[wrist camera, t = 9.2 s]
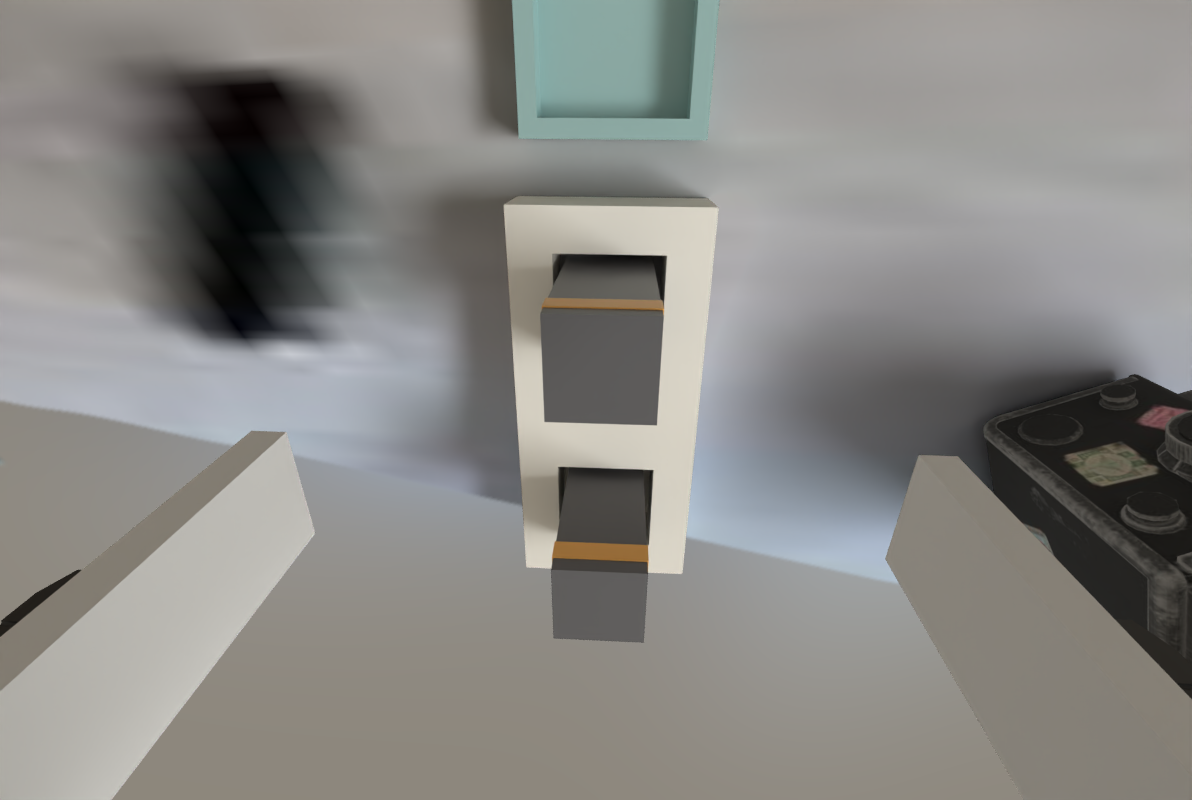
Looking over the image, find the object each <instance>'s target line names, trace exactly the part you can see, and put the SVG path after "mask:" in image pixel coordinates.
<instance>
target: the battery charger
mask: <svg viewBox="0 0 1192 800" xmlns="http://www.w3.org/2000/svg"><path fill="white" fill-rule="evenodd" d="M718 209H719V207H717V206H716V205H715V204H714V203H713V202H712V201H710V200H709V199H708V198H640V197H564V196H517V197H515V198H514V199H512V200H510V201H509V202H507V203H505V204H504V219H505V235H506V251H507V267H508V283H509V299H510V314H511V330H512V346H513V362H514V378H515V394H516V409H517V425H518V441H519V457H520V473H521V489H522V505H523V520H524V536H525V551H526V567H531V568H551V580H552V581H551V582H552V607H553V635H554V638H558V639H579V640H600V641H621V642H641V643H643V642H644V629H645V612H646V596H647V582H648V572H649V573H674V574H682V571H683V561H684V551H685V541H686V531H687V521H688V511H689V501H690V491H691V481H692V471H693V461H694V451H695V440H696V430H697V420H698V410H699V400H700V390H701V380H702V370H703V360H704V350H705V340H706V330H707V320H708V310H709V300H710V290H711V279H712V269H713V259H714V249H715V239H716V229H717V219H718ZM568 254H609V255H652V257H653V263H654V268H655V273H656V278H657V284H658V289H659V294H660V299H661V300H663V305H664V321H663V337H662V353H661V369H660V385H659V401H658V416H657V426H656V425H623V424H591V423H559V422H544V400H543V374H542V348H541V323H540V313H541V311H542V304H543V302H544V300H545V298H548V296H549V294H550V292H551V290H552V288H553V286H554V284H555V281H556V279H557V277H558V275H559V273H560V271H561V269H562V267H563V265H564V263H565V260H566V258H567V256H568Z"/></svg>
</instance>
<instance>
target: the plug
mask: <svg viewBox="0 0 1192 800" xmlns="http://www.w3.org/2000/svg"><path fill="white" fill-rule="evenodd" d="M663 321H664V305H663V300H661V299H660V294H659V289H658V284H657V278H656V273H655V268H654V263H653V257H652V255H609V254H568V256H567V258H566V260H565V263H564V265H563V267H562V269H561V271H560V273H559V275H558V277H557V279H556V281H555V284H554V286H553V288H552V290H551V292H550V294H549V296H548V298H545V300H544V302H543V304H542V311H541V313H540V323H541V348H542V374H543V400H544V422H559V423H591V424H623V425H656V426H657V416H658V401H659V385H660V369H661V353H662V337H663Z"/></svg>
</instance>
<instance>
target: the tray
mask: <svg viewBox="0 0 1192 800" xmlns="http://www.w3.org/2000/svg"><path fill="white" fill-rule="evenodd" d="M512 10H513V30H514V51H515V71H516V91H517V112H518V132H519V139H625V140H707V138H708V126H709V115H710V103H711V91H712V80H713V68H714V57H715V45H716V34H717V22H718V10H719V0H512Z"/></svg>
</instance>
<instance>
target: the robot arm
mask: <svg viewBox="0 0 1192 800" xmlns="http://www.w3.org/2000/svg"><path fill="white" fill-rule="evenodd" d="M314 534H315V531H314V527H313V524H312V520H311V517H310V513H309V510H308V506H307V503H306V499H305V496H304V493H303V489H302V485H301V482H300V478H299V475H298V471H297V468H296V464H295V461H294V457H293V454H292V450H291V447H290V443H289V440H288V436H287V433H286V432H267V431H251V432H250V433H248V434H247V435H246V436H245V437H244V438H242V439H241V440H240V441H239V442H237V443H236V444H235V445H234V446H233V447H231V448H230V449H229V450H228V451H227V452H225V453H224V454H223V455H222V456H220V457H219V458H218V459H217V460H216V461H214V462H213V463H212V464H211V465H209V466H208V467H207V468H206V469H205V470H203V471H202V472H201V473H200V474H199V475H197V476H196V477H195V478H194V479H192V480H191V481H190V482H189V483H187V484H186V485H185V486H184V487H183V488H182V489H180V490H179V491H178V492H177V493H175V494H174V495H173V496H172V497H171V498H169V499H168V500H167V501H166V502H164V503H163V504H162V505H161V506H160V507H158V508H157V509H156V510H155V511H153V512H152V513H151V514H150V515H148V516H147V517H146V518H145V519H144V520H142V521H141V522H140V523H139V524H138V525H136V526H135V527H134V528H133V529H131V530H130V531H129V532H128V533H127V534H125V535H124V536H123V537H122V538H121V539H119V540H118V541H117V542H116V543H114V544H113V545H112V546H111V547H109V548H108V549H107V550H106V551H105V552H103V553H102V554H101V555H100V556H98V557H97V558H96V559H95V560H94V561H92V562H91V563H90V564H89V565H88V566H86V567H85V568H84V569H83V570H76V571H75V572H73V573H71V574H69V575H68V576H66V577H64V578H62V579H60V580H58V581H57V582H55V583H53V584H51V585H49V586H48V587H46V588H44V589H42V590H40V591H39V592H37V593H35V594H34V595H33V596H32V597H30V598H29V599H28V600H27V601H25V602H24V603H23V604H22V605H20V606H19V607H18V608H17V609H15V610H14V611H13V612H11V613H10V614H9V615H8V616H6V617H5V618H4V619H3V620H2V623H1V625H0V800H112V798H113V797H114V796H115V794H116V793H117V792H118V791H119V789H120V788H121V787H122V785H123V784H124V783H125V781H126V780H127V779H128V777H129V776H130V775H131V773H132V772H133V771H134V769H135V768H136V767H137V766H138V764H139V763H140V762H141V760H142V759H143V758H144V757H145V755H146V754H147V753H148V751H149V750H150V749H151V747H152V746H153V745H154V744H155V742H156V741H157V740H158V738H159V737H160V735H161V734H162V733H163V732H164V730H165V729H166V728H167V727H168V725H169V724H170V723H171V721H172V720H173V719H174V717H175V716H176V715H177V713H178V712H179V711H180V709H181V708H182V707H183V706H184V704H185V703H186V702H187V700H188V699H189V698H190V696H191V695H192V694H193V692H194V691H195V690H196V689H197V687H198V686H199V685H200V683H201V682H202V681H203V679H204V678H205V677H206V676H207V674H208V673H209V672H210V670H211V669H212V668H213V666H214V665H215V664H216V662H217V661H218V660H219V659H220V657H221V656H222V655H223V653H224V652H225V651H226V649H227V648H228V647H229V645H230V644H231V643H232V641H233V640H234V639H235V638H236V636H237V634H239V632H240V631H241V630H242V628H243V627H244V626H245V624H246V623H247V622H248V621H249V619H250V618H251V617H252V615H253V614H254V613H255V611H256V610H257V609H258V607H259V606H260V605H261V604H262V602H263V601H264V600H265V598H266V597H267V596H268V594H269V593H270V592H271V591H272V589H273V588H274V586H275V585H276V584H277V583H278V581H279V580H280V579H281V577H282V576H283V575H284V574H285V572H286V571H287V570H288V568H289V567H290V565H291V564H292V563H293V562H294V560H295V559H296V558H297V557H298V555H299V554H300V553H301V551H302V550H303V549H304V547H305V546H306V545H307V543H308V542H309V541H310V540H311V538H312V537H313V536H314ZM885 559H886V561H887V563H888V565H889V566H890V568H891V570H892V572H893V573H894V575H895V577H896V579H897V580H898V582H899V584H900V586H901V587H902V589H903V591H904V593H905V594H906V596H907V598H908V600H909V601H910V603H911V605H912V606H913V608H914V610H915V612H916V613H917V615H918V617H919V619H920V620H921V622H922V624H923V626H924V627H925V629H926V631H927V632H928V634H929V636H930V638H931V640H932V641H933V643H934V645H935V647H936V648H937V650H938V652H939V653H940V655H941V657H942V659H943V661H944V662H945V664H946V666H947V667H948V669H949V671H950V673H951V674H952V676H953V678H954V680H955V681H956V683H957V685H958V686H959V688H960V690H961V692H962V694H963V695H964V697H965V699H966V701H967V702H968V704H969V706H970V707H971V709H972V711H973V713H974V715H975V716H976V718H977V720H978V722H979V723H980V725H981V727H982V728H983V730H984V732H985V733H986V735H987V737H988V739H989V741H990V742H991V744H992V746H993V748H994V749H995V751H996V753H997V754H998V756H999V758H1000V760H1001V762H1002V763H1003V765H1004V767H1005V769H1006V770H1007V772H1008V774H1009V775H1010V777H1011V779H1012V781H1013V782H1014V784H1015V786H1016V788H1017V789H1018V791H1019V793H1020V795H1021V796H1022V798H1023V800H1192V665H1191V664H1190V663H1189V662H1188V661H1187V660H1186V659H1185V658H1184V657H1183V656H1182V655H1181V654H1180V653H1179V652H1178V651H1177V650H1176V649H1174V648H1173V647H1171V646H1170V645H1168V644H1167V643H1166V642H1164V641H1163V640H1161V639H1160V638H1158V637H1157V636H1155V635H1154V634H1152V633H1151V632H1149V631H1148V630H1146V629H1145V628H1143V627H1142V626H1140V625H1139V624H1137V623H1136V622H1134V621H1133V620H1122V619H1114V618H1113V617H1112V616H1111V615H1110V614H1109V613H1108V612H1107V611H1106V610H1105V609H1104V608H1103V607H1102V606H1101V605H1100V604H1099V603H1098V602H1097V600H1096V599H1095V598H1094V597H1093V596H1092V595H1091V594H1090V593H1089V592H1088V591H1087V590H1086V589H1085V588H1084V587H1083V586H1082V585H1081V584H1080V583H1079V582H1078V581H1077V580H1076V579H1075V578H1074V577H1073V576H1072V575H1071V573H1070V572H1069V571H1068V570H1067V569H1066V568H1065V567H1064V566H1063V565H1062V564H1061V563H1060V562H1059V561H1058V560H1057V559H1056V558H1055V557H1054V556H1053V555H1052V554H1051V553H1050V552H1049V551H1048V550H1047V549H1046V548H1045V546H1044V545H1043V544H1042V543H1041V542H1040V541H1039V540H1038V539H1037V538H1036V537H1035V536H1034V535H1033V534H1032V533H1031V532H1030V531H1029V530H1028V529H1027V528H1026V527H1025V526H1024V525H1023V524H1022V523H1021V522H1020V521H1019V519H1018V518H1017V517H1016V516H1015V515H1014V514H1013V513H1012V512H1011V511H1010V510H1009V509H1008V508H1007V507H1006V506H1005V505H1004V504H1003V503H1002V502H1001V501H1000V500H999V499H998V498H997V497H996V496H995V495H994V494H993V492H992V491H991V490H990V489H989V488H988V487H987V486H986V485H985V484H984V483H983V482H982V481H981V480H980V479H979V478H978V477H977V476H976V475H975V474H974V473H973V472H972V471H971V470H970V469H969V468H968V466H967V465H966V464H965V463H964V462H963V461H962V460H961V459H960V458H959V457H958V456H934V455H918V458H917V461H916V464H915V468H914V471H913V474H912V477H911V480H910V483H909V486H908V490H907V493H906V496H905V499H904V502H903V505H902V508H901V511H900V515H899V518H898V521H897V524H896V527H895V530H894V533H893V536H892V540H891V543H890V546H889V549H888V552H887V555H886V558H885Z"/></svg>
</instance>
